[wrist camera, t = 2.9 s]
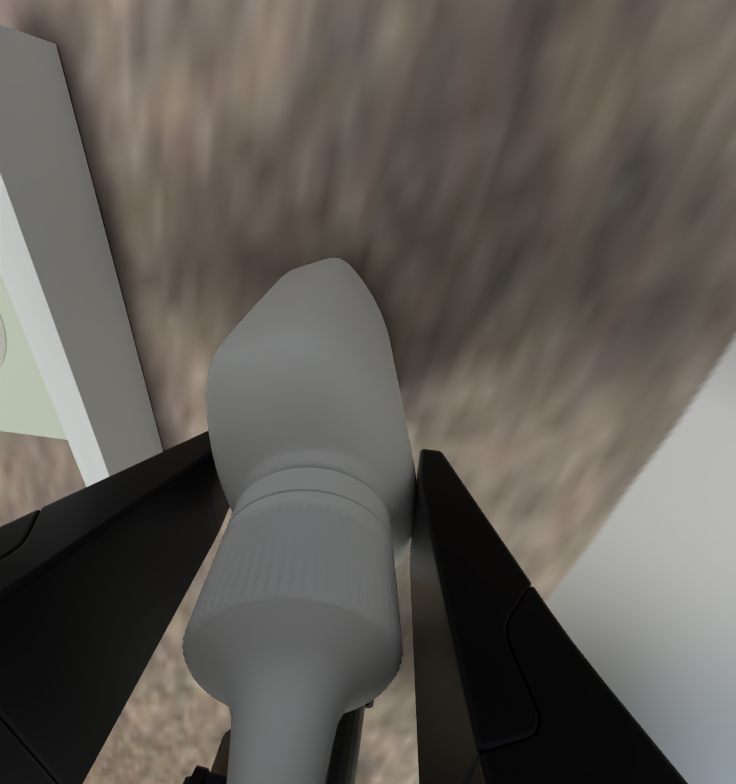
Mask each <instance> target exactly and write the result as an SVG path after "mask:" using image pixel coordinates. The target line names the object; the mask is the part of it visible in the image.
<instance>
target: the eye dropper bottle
mask: <svg viewBox="0 0 736 784" xmlns="http://www.w3.org/2000/svg"><path fill="white" fill-rule="evenodd" d="M206 401H207V421H208V431H209V437H210V443H211V449H212V455H213V458H214V462H215V466H216V470H217V474H218V477H219V480H220V483H221V486H222V489H223V491H224V494H225V496H226V499H227V501H228V503H229V506H230V508H231V510H232V512H233V513H232V515H231V518H230V520H229V523H228V525H227V528H226V530H225V533H224V535H223V538H222V540H221V543H220V545H219V548H218V550H217V553H216V555H215V558H214V560H213V563H212V565H211V568H210V570H209V573H208V575H207V578H206V580H205V583H204V585H203V588H202V590H201V593H200V595H199V598H198V600H197V603H196V605H195V608H194V610H193V613H192V615H191V618H190V620H189V623H188V625H187V628H186V630H185V635H184V637H183V642H184V643H183V645H182V647H183V650H184V651H183V655H184V657H185V662H186V664H187V666H188V668H189V671H190V672H191V674H192V676H193V678H194V679H195V680H196V682H197V683H198V684H199V685H200V686H201V687H202V688H203V689H204V690H205V691H206V692H207V693H208V694H210V695H211V696H212V697H214V698H215V699H217V700H219V701H220V702H222V703H224V704H226V705H228V707H229V710H230V714H231V738H230V750H229V762H228V774H227V784H325V780H326V775H327V770H328V765H329V760H330V755H331V750H332V745H333V741H334V737H335V733H336V729H337V725H338V722H339V721H340V719H341V717H342V715H343V714H344V713H347V712H350V711H352V710H355V709H357V708H359V707H361V706H363V705H365V704H367V703H369V702H370V701H372V700H373V699H375V698H376V697H377V696H379V695H380V694H381V693H382V692H383V691H384V690H385V689H386V688H387V686H388V685H389V684H390V683H391V681H392V680H393V679H394V677H395V676H396V673H397V672H398V670H399V669H400V668H399V666H400V664H401V662H402V660H401V658H402V656H403V654H402V638H401V627H400V616H399V606H398V595H397V584H396V573H395V568H396V567H397V566H398V565H399V564H400V563H401V561H402V560H403V559H404V558H405V556H406V554H407V551H408V549H409V547H410V544H411V536H412V529H413V522H414V513H415V505H416V494H417V484H416V474H415V467H414V461H413V456H412V451H411V445H410V440H409V435H408V430H407V425H406V419H405V414H404V409H403V404H402V399H401V394H400V389H399V384H398V379H397V374H396V369H395V364H394V359H393V354H392V349H391V344H390V339H389V335H388V331H387V328H386V325H385V322H384V319H383V317H382V314H381V312H380V310H379V308H378V305H377V303H376V301H375V300H374V298H373V296H372V294H371V293H370V291H369V289H368V288H367V286H366V285H365V283H364V282H363V280H362V279H361V278H360V276H359V275H358V274H357V273H356V271H355V270H354V269H353V268H352V267H351V266H350V265H349V264H348V263H347V262H345V261H344V260H342V259H340V258H327V259H324V260H320V261H317V262H314V263H311V264H307V265H304V266H301V267H298V268H296V269H293V270H290V271H289V272H287V273H286V274H285V275H283V276H282V277H281V278H280V279H279V280H278V281H277V282H276V283H275V284H274V285H273V287H272V288H271V289H270V290H269V291H268V292H267V293H266V294H265V295H264V296H263V297H262V298H261V299H260V300H259V302H258V303H257V304H256V305H255V306H254V307H253V308H252V309H251V310H250V311H249V312H248V314H247V315H246V316H245V317H244V318H243V319H242V320H241V321H240V322H239V323H238V325H237V326H236V327H235V328H234V329H233V330H232V332H231V333H230V334H229V335H228V336H227V338H226V339H225V340H224V341H223V343H222V344H221V345H220V346H219V347H218V349H217V351H216V353H215V355H214V357H213V360H212V362H211V365H210V367H209V370H208V377H207V390H206Z"/></svg>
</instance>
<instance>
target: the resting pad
mask: <svg viewBox="0 0 736 784" xmlns="http://www.w3.org/2000/svg"><path fill="white" fill-rule="evenodd" d="M0 431H5V432H13V433H20V434H28V435H35V436H43V437H50V438H58V439H65V440H67V437H66V435H65V432H64V430H63V427H62V425H61V423H60V420H59V418H58V415H57V413H56V410H55V408H54V405H53V403H52V400H51V398H50V395H49V393H48V390H47V388H46V385H45V383H44V380H43V378H42V375H41V373H40V370H39V368H38V365H37V363H36V360H35V358H34V356H33V353H32V351H31V348H30V346H29V343H28V341H27V338H26V336H25V333H24V331H23V328H22V326H21V323H20V321H19V318H18V316H17V313H16V311H15V308H14V306H13V303H12V301H11V298H10V296H9V293H8V291H7V288H6V286H5V284H4V281H3V279H2V276H1V274H0Z"/></svg>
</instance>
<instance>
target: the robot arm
mask: <svg viewBox="0 0 736 784" xmlns="http://www.w3.org/2000/svg"><path fill="white" fill-rule="evenodd" d="M416 484H417V494H416V505H415V513H414V522H413V529H412V536H411V549H410V580H411V603H412V626H413V649H414V672H415V695H416V718H417V741H418V764H419V784H688V783H687V782H686V781H685V780H684V778H683V777H682V776H681V775H680V773H679V772H678V771H677V770H676V768H675V767H674V766H673V765H672V764H671V763H670V761H669V760H668V759H667V758H666V757H665V755H664V754H663V753H662V751H661V750H660V749H659V748H658V747H657V745H656V744H655V743H654V742H653V740H652V739H651V738H650V737H649V736H648V734H647V733H646V732H645V731H644V730H643V728H642V727H641V726H640V725H639V724H638V722H637V721H636V720H635V719H634V717H633V716H632V715H631V714H630V712H629V711H628V710H627V709H626V708H625V706H624V705H623V704H622V703H621V702H620V701H619V699H618V698H617V697H616V695H615V694H614V693H613V692H612V691H611V689H610V688H609V687H608V686H607V684H606V683H605V682H604V681H603V680H602V678H601V677H600V676H599V675H598V673H597V672H596V671H595V670H594V668H593V667H592V666H591V664H590V663H589V662H588V661H587V659H586V658H585V657H584V655H583V654H582V653H581V652H580V650H579V649H578V648H577V647H576V645H575V644H574V643H573V641H572V640H571V639H570V637H569V636H568V635H567V633H566V632H565V630H564V629H563V628H562V626H561V625H560V623H559V622H558V621H557V619H556V618H555V617H554V615H553V614H552V612H551V611H550V610H549V608H548V607H547V605H546V604H545V602H544V601H543V599H542V598H541V596H540V595H539V594H538V592H537V591H536V589H535V588H534V587H531V582H530V581H529V579H528V578H527V576H526V575H525V573H524V572H523V570H522V569H521V567H520V566H519V564H518V563H517V562H516V560H515V559H514V557H513V556H512V554H511V553H510V551H509V550H508V548H507V547H506V545H505V544H504V543H503V541H502V540H501V538H500V537H499V535H498V534H497V532H496V531H495V529H494V528H493V526H492V525H491V523H490V522H489V521H488V519H487V518H486V516H485V515H484V513H483V512H482V510H481V509H480V507H479V506H478V504H477V503H476V502H475V500H474V499H473V497H472V496H471V494H470V493H469V491H468V490H467V488H466V487H465V485H464V484H463V483H462V481H461V480H460V478H459V477H458V475H457V474H456V472H455V471H454V469H453V468H452V466H451V465H450V463H449V462H448V461H447V459H446V458H445V456H444V455H443V453H442V452H440V451H436V450H427V449H422V450H421V451H420V456H419V464H418V471H417V479H416ZM229 507H230V506H229V503H228V501H227V499H226V496H225V494H224V491H223V489H222V486H221V483H220V480H219V477H218V474H217V470H216V466H215V462H214V458H213V455H212V449H211V443H210V437H209V431H207V432H205V433H202V434H200V435H198V436H196V437H194V438H192V439H189V440H187V441H185V442H183V443H181V444H179V445H176V446H174V447H172V448H170V449H168V450H166V451H163V452H161V453H159V454H157V455H155V456H153V457H151V458H148V459H146V460H144V461H142V462H140V463H138V464H135V465H133V466H131V467H129V468H127V469H125V470H122V471H120V472H118V473H116V474H114V475H112V476H109V477H107V478H105V479H103V480H101V481H99V482H96V483H94V484H92V485H90V486H88V487H86V488H83V489H81V490H79V491H77V492H75V493H73V494H70V495H68V496H66V497H64V498H62V499H60V500H57V501H55V502H53V503H51V504H49V505H47V506H44V507H43V508H42V509H41V511H40V510H35V511H33V512H31V513H29V514H27V515H25V516H23V517H21V518H18V519H16V520H14V521H12V522H10V523H7V524H5V525H3V526H1V527H0V784H83V782H84V780H85V778H86V776H87V775H88V773H89V771H90V769H91V767H92V765H93V763H94V762H95V760H96V758H97V756H98V754H99V752H100V751H101V749H102V747H103V745H104V743H105V741H106V740H107V738H108V736H109V734H110V732H111V730H112V728H113V727H114V725H115V723H116V721H117V719H118V717H119V716H120V714H121V712H122V710H123V708H124V706H125V704H126V703H127V701H128V699H129V697H130V695H131V693H132V692H133V690H134V688H135V686H136V684H137V682H138V681H139V679H140V677H141V675H142V673H143V671H144V669H145V668H146V666H147V664H148V662H149V660H150V658H151V657H152V655H153V653H154V651H155V649H156V647H157V646H158V644H159V642H160V640H161V638H162V636H163V634H164V633H165V631H166V629H167V627H168V625H169V623H170V622H171V620H172V618H173V616H174V614H175V612H176V611H177V609H178V607H179V605H180V603H181V601H182V599H183V598H184V596H185V594H186V592H187V590H188V588H189V587H190V585H191V583H192V581H193V579H194V577H195V575H196V574H197V572H198V570H199V568H200V566H201V564H202V563H203V561H204V559H205V557H206V555H207V553H208V552H209V550H210V548H211V546H212V544H213V542H214V540H215V538H216V536H217V535H218V533H219V531H220V528H221V526H222V524H223V521H224V519H225V517H226V514H227V512H228V509H229ZM373 702H374V699H373V700H372V701H370V702H369V703H367V704H365V705H363V706H361V707H359V708H357V709H355V710H352V711H350V712H347V713H344V714H343V715H342V717H341V719H340V721H339V722H338V725H337V729H336V733H335V737H334V741H333V745H332V750H331V755H330V760H329V765H328V770H327V775H326V780H325V784H355V778H356V771H357V763H358V756H359V748H360V741H361V733H362V726H363V718H364V710H365V708H371V707H373ZM183 784H227V776H225V775H221V774H217V773H214V772H210V771H209V768H206V767H202V766H198V765H197V766H196V768H195V770H194V772H193V774H192V776H189V777H186V778H185V780H184V783H183Z"/></svg>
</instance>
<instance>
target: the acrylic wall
mask: <svg viewBox="0 0 736 784" xmlns="http://www.w3.org/2000/svg"><path fill="white" fill-rule="evenodd" d="M0 274H1V276H2V279H3V281H4V284H5V286H6V288H7V291H8V293H9V296H10V298H11V301H12V303H13V306H14V308H15V311H16V313H17V316H18V318H19V321H20V323H21V326H22V328H23V331H24V333H25V336H26V338H27V341H28V343H29V346H30V348H31V351H32V353H33V356H34V358H35V360H36V363H37V365H38V368H39V370H40V373H41V375H42V378H43V380H44V383H45V385H46V388H47V390H48V393H49V395H50V398H51V400H52V403H53V405H54V408H55V410H56V413H57V415H58V418H59V420H60V423H61V425H62V427H63V430H64V432H65V435H66V437H67V440H68V442H69V445H70V447H71V450H72V452H73V455H74V457H75V460H76V462H77V465H78V467H79V470H80V472H81V475H82V477H83V480H84V482H85V485H86V487H88V486H90V485H92V484H94V483H96V482H99V481H101V480H103V479H105V478H107V477H109V476H112V475H114V474H116V473H118V472H120V471H122V470H125V469H127V468H129V467H131V466H133V465H135V464H138V463H140V462H142V461H144V460H146V459H148V458H151V457H153V456H155V455H157V454H159V453H161V452H163V449H162V445H161V441H160V438H159V434H158V430H157V426H156V422H155V419H154V415H153V411H152V407H151V403H150V400H149V396H148V392H147V388H146V384H145V381H144V377H143V373H142V369H141V365H140V362H139V358H138V354H137V350H136V346H135V343H134V339H133V335H132V331H131V327H130V324H129V320H128V316H127V312H126V308H125V305H124V301H123V297H122V293H121V289H120V286H119V282H118V278H117V274H116V270H115V267H114V263H113V259H112V255H111V251H110V248H109V244H108V240H107V236H106V232H105V229H104V225H103V221H102V217H101V213H100V210H99V206H98V202H97V198H96V194H95V191H94V187H93V183H92V179H91V175H90V172H89V168H88V164H87V160H86V156H85V153H84V149H83V145H82V141H81V137H80V134H79V130H78V126H77V122H76V118H75V115H74V111H73V107H72V103H71V100H70V96H69V92H68V88H67V84H66V81H65V77H64V73H63V69H62V65H61V62H60V58H59V54H58V50H57V46H56V44H54V43H52V42H49V41H46V40H43V39H40V38H37V37H34V36H31V35H29V34H26V33H23V32H20V31H17V30H14V29H11V28H8V27H6V26H3V25H0Z"/></svg>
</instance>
